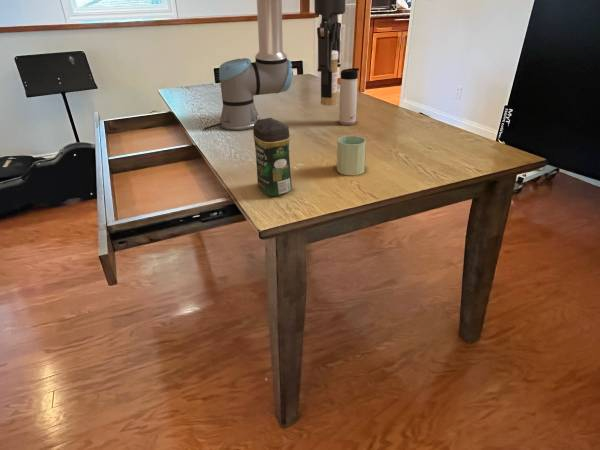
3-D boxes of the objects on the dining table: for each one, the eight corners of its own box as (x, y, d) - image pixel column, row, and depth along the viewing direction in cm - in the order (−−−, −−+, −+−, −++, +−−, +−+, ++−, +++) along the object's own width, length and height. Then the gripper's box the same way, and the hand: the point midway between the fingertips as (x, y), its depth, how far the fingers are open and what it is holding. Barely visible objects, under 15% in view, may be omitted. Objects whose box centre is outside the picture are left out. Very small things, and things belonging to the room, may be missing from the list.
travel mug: (355, 125, 155) (358, 70, 145) (338, 125, 157) (339, 69, 146) (357, 120, 161) (359, 66, 150) (340, 120, 162) (341, 66, 152)
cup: (340, 176, 116) (341, 145, 112) (334, 165, 123) (334, 136, 119) (367, 174, 117) (369, 143, 113) (360, 163, 124) (361, 134, 119)
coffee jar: (253, 186, 112) (247, 118, 103) (279, 179, 115) (276, 113, 106) (268, 200, 105) (263, 129, 95) (296, 193, 108) (294, 123, 98)
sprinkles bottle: (320, 102, 114) (320, 49, 107) (336, 101, 114) (337, 49, 107) (320, 106, 110) (320, 52, 103) (337, 106, 110) (338, 52, 103)
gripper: (335, -3, 91) (333, 103, 103) (353, -6, 105) (350, 88, 117) (303, -3, 93) (305, 102, 105) (325, -6, 107) (325, 87, 119)
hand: (329, 94), depth 111 cm, fingers closed on sprinkles bottle, 4 cm apart
